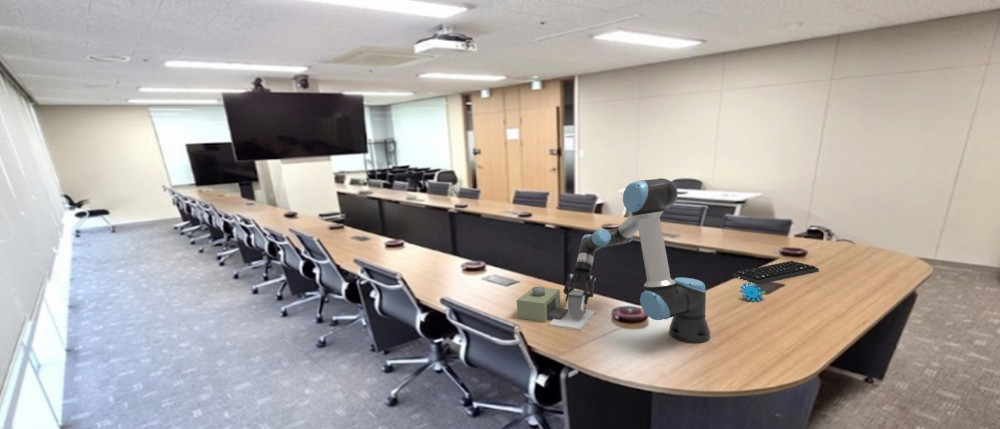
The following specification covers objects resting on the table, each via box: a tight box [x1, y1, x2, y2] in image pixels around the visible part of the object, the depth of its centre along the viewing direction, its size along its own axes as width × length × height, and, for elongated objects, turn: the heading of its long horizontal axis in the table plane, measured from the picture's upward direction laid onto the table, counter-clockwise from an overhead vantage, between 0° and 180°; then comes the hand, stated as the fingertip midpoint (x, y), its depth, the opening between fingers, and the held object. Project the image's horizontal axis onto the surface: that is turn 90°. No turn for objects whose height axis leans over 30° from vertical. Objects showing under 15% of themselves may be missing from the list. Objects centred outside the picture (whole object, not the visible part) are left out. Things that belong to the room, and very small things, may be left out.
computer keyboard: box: [732, 260, 820, 285], centre depth 233 cm, size 45×16×4 cm, turn 109°
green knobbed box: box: [516, 286, 596, 331], centre depth 196 cm, size 32×23×12 cm
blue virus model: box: [739, 282, 766, 303], centre depth 201 cm, size 11×6×10 cm
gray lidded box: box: [568, 289, 587, 317], centre depth 190 cm, size 6×6×10 cm
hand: (574, 309), depth 187 cm, fingers closed on gray lidded box, 6 cm apart
